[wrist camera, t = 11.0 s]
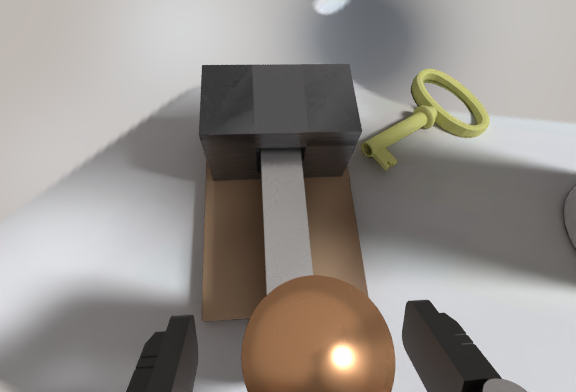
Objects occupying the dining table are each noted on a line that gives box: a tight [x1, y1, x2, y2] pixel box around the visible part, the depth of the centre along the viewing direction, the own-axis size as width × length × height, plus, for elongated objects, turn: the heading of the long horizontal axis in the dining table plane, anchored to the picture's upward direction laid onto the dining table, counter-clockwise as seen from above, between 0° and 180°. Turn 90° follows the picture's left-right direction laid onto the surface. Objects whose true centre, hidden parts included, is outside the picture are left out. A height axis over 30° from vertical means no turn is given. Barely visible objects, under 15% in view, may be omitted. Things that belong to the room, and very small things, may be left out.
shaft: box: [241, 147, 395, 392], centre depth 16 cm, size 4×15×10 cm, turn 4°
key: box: [361, 69, 489, 171], centre depth 27 cm, size 7×12×2 cm, turn 143°
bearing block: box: [199, 64, 362, 181], centre depth 22 cm, size 9×5×6 cm, turn 94°
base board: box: [201, 162, 368, 321], centre depth 23 cm, size 10×14×1 cm
